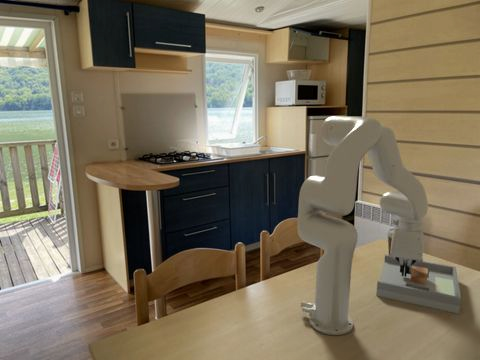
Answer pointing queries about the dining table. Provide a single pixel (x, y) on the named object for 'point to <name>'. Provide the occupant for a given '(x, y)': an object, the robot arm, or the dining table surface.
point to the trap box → (421, 285)
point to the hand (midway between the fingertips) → (404, 274)
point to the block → (419, 275)
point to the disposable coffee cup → (390, 238)
